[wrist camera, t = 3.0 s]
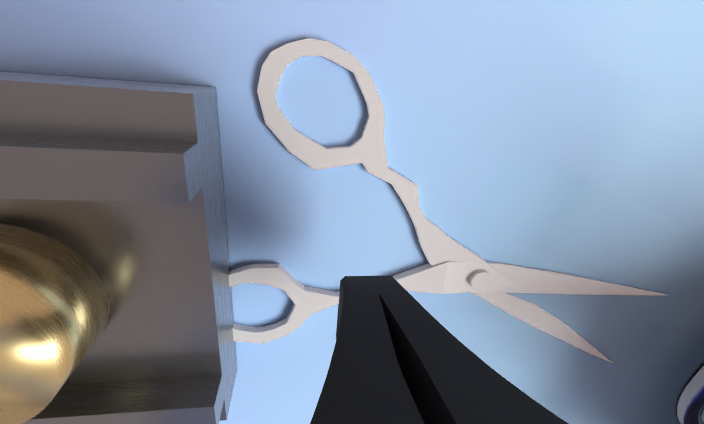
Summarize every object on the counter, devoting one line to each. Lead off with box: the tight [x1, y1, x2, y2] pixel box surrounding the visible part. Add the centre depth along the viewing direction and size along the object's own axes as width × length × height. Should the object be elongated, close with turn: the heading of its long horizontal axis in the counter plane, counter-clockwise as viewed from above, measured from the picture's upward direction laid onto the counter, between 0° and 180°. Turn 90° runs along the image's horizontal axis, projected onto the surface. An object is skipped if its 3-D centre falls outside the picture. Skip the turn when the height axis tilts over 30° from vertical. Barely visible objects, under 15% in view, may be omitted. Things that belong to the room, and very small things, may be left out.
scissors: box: [229, 38, 672, 363], centre depth 12 cm, size 11×1×20 cm
